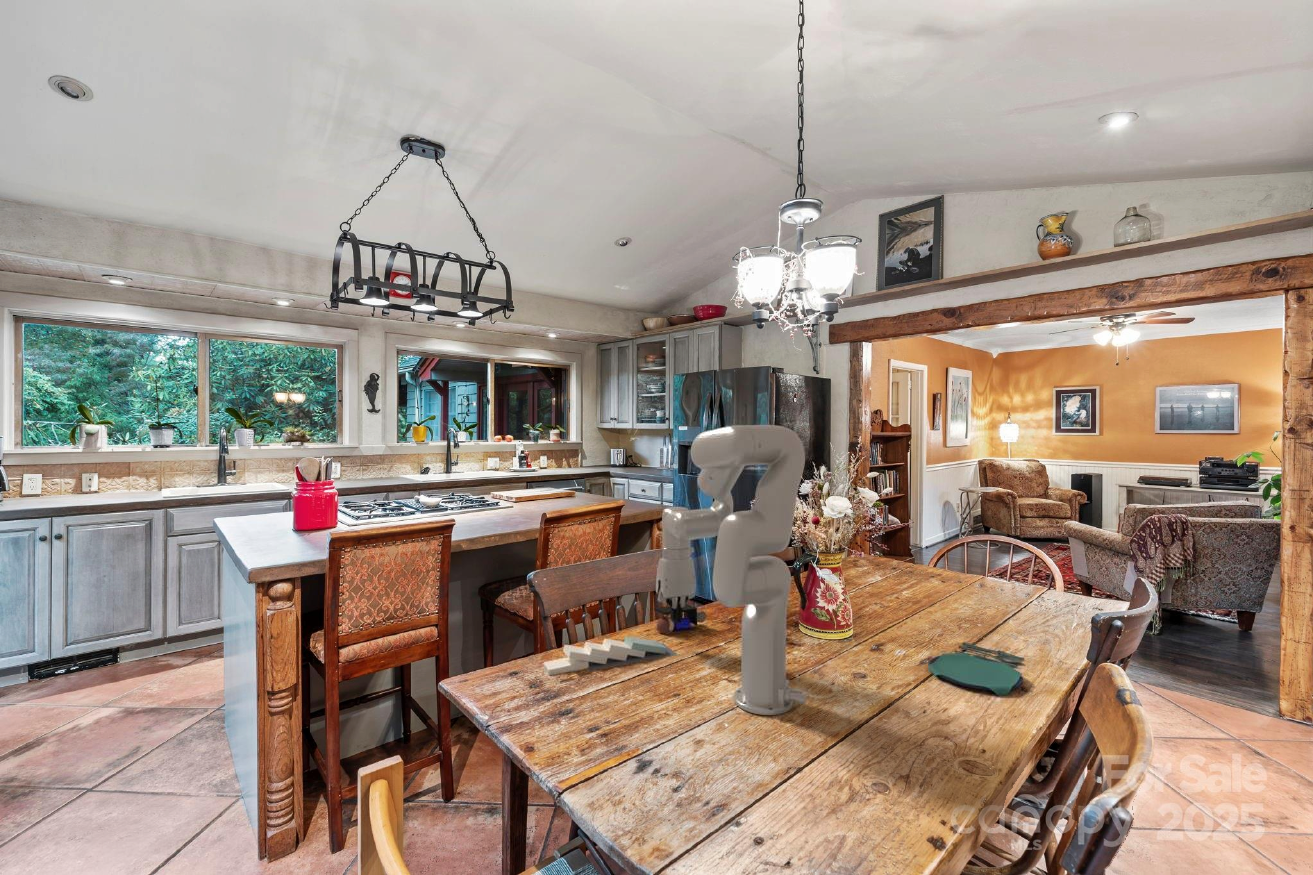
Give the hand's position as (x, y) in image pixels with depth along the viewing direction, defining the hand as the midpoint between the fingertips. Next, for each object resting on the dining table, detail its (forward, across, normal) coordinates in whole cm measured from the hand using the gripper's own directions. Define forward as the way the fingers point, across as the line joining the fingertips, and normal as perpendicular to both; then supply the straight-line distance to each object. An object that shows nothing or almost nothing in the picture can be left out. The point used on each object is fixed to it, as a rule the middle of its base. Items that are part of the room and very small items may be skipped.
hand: (676, 621), depth 156 cm
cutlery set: (+8, -61, +44) cm, 76 cm away
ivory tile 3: (+6, +21, 0) cm, 22 cm away
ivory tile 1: (+6, +10, 0) cm, 12 cm away
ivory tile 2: (+6, +15, 0) cm, 17 cm away
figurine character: (+8, -8, -13) cm, 17 cm away
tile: (+6, +4, 0) cm, 8 cm away
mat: (+8, +14, 0) cm, 16 cm away
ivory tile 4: (+6, +26, 0) cm, 26 cm away
